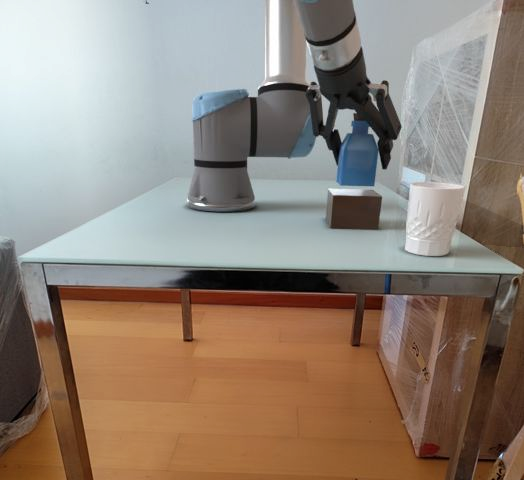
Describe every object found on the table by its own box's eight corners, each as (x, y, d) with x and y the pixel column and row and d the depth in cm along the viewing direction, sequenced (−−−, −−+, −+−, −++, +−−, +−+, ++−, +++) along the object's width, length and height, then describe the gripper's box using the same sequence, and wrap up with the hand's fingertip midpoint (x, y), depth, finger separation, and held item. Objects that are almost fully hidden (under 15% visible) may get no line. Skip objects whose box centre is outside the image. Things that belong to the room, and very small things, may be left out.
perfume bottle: (340, 185, 88) (347, 112, 82) (336, 181, 93) (342, 113, 88) (374, 186, 88) (383, 113, 82) (368, 182, 93) (375, 113, 88)
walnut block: (325, 219, 98) (327, 188, 95) (369, 220, 98) (373, 189, 95) (330, 228, 90) (333, 195, 87) (378, 229, 90) (382, 196, 87)
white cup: (462, 256, 73) (476, 188, 69) (415, 258, 72) (426, 189, 67) (435, 244, 80) (447, 181, 75) (392, 245, 78) (401, 181, 74)
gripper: (267, 75, 76) (306, 173, 95) (398, 72, 66) (412, 182, 85) (285, 40, 78) (320, 143, 97) (415, 32, 68) (425, 149, 87)
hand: (363, 161), depth 91 cm, fingers closed on perfume bottle, 8 cm apart
